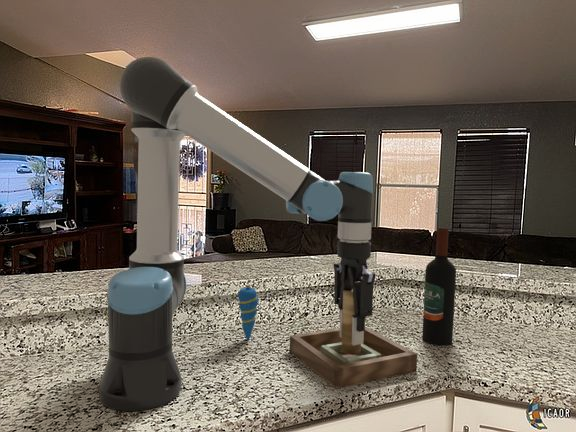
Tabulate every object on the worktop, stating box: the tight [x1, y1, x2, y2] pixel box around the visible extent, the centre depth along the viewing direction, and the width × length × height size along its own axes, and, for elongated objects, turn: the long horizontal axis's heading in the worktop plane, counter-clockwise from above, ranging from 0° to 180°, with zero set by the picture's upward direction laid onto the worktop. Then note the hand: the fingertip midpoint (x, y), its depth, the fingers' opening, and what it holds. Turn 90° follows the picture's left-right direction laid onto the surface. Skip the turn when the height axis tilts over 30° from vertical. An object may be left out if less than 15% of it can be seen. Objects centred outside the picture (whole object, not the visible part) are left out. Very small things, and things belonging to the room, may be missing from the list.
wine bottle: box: [421, 226, 457, 347], centre depth 117 cm, size 8×8×30 cm
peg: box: [341, 289, 361, 355], centre depth 103 cm, size 4×4×14 cm
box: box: [289, 326, 418, 390], centre depth 104 cm, size 21×21×4 cm
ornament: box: [237, 284, 259, 341], centre depth 115 cm, size 5×5×15 cm
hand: (351, 339), depth 103 cm, fingers closed on peg, 4 cm apart
